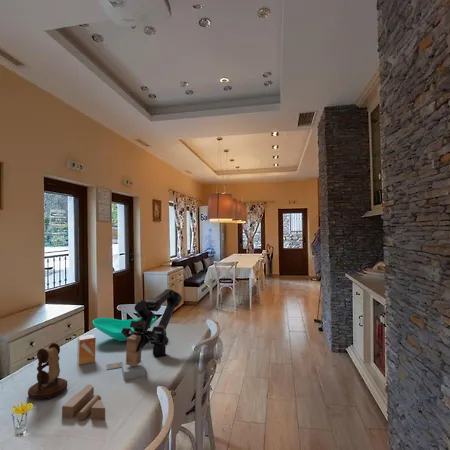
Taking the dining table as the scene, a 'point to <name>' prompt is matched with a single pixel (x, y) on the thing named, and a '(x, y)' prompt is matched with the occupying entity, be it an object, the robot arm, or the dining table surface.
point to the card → (114, 365)
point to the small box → (86, 349)
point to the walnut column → (133, 350)
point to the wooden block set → (84, 405)
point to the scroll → (48, 374)
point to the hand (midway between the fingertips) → (132, 350)
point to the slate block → (133, 371)
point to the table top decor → (115, 326)
